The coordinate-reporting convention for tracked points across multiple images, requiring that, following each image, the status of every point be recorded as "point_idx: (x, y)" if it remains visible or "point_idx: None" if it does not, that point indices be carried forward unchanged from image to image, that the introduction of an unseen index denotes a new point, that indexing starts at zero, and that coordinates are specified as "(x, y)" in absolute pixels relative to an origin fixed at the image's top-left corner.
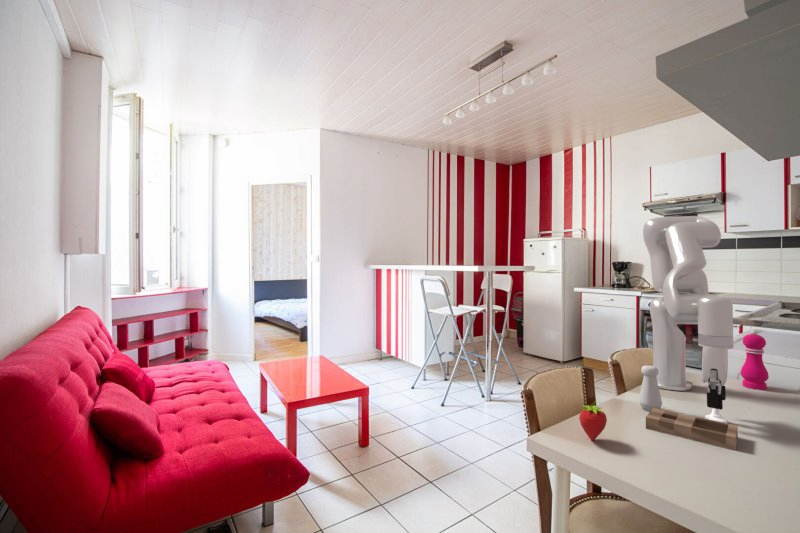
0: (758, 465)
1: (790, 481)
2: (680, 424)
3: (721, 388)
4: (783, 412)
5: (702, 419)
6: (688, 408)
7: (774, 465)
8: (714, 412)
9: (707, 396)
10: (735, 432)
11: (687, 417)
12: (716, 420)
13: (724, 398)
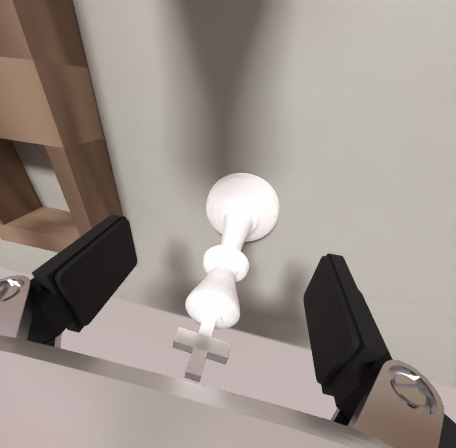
0: (11, 242)
1: (3, 266)
2: None
3: (319, 359)
4: (434, 370)
5: (55, 171)
6: (391, 101)
7: (40, 263)
8: (224, 222)
9: (67, 252)
10: (38, 246)
11: (14, 108)
12: (207, 212)
13: (305, 304)
